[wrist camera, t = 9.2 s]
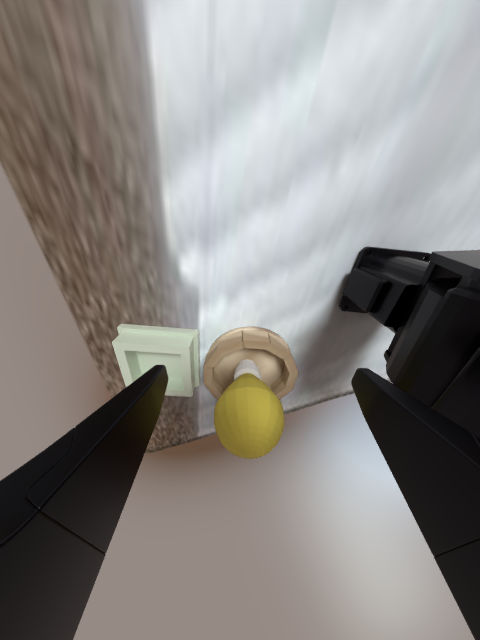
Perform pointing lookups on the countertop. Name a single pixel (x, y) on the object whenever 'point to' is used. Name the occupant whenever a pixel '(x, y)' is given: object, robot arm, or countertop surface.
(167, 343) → the square socket
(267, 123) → the countertop surface
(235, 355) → the round cradle
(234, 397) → the light bulb
